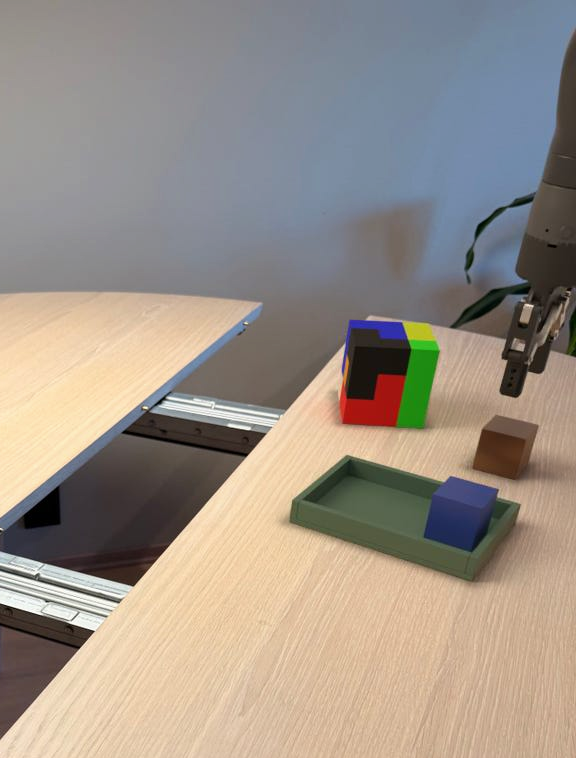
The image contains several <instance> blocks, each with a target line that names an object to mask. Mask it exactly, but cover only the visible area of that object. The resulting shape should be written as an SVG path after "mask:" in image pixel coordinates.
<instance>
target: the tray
mask: <svg viewBox="0 0 576 758" xmlns="http://www.w3.org/2000/svg"><path fill="white" fill-rule="evenodd" d="M444 482H445V481H441V480H438V479H434V478H431V477H427V476H424V475H420V474H417V473H413V472H410V471H406V470H402V469H399V468H396V467H393V466H392V467H391V466H388V465H385V464H381V463H377V462H375V461H370V460H367V459H364V458H360V457H357V456H353V455H350V454H346V455H344V456H343V457H342V458H341V459H340V460H338V461H337V462H336V463H335V464H334V465H333V466H331V467H330V468H329V469H328V470H326V471H325V472H323V474H321V476H319V477H318V478H317V479H316V480H314V481H313V482H312V483H311V484H310V485H308V486H307V487H306V488H305V489H303V490H302V491H301V492H299V494H298V495H296V496H295V497H294V498H293V499H291V503H290V504H291V505H290V512H289V519H288V522H289V523H292V524H295V525H298V526H302V527H305V528H306V529H311V530H313V531H316V532H320V533H323V534H325V535H328V536H332V537H335V538H338V539H341V540H343V541H347V542H350V543H353V544H356V545H360V546H363V547H365V548H368V549H371V550H373V551H374V550H375V551H377V552H381V553H383V554H387V555H390V556H393V557H396V558H399V559H402V560H405V561H408V562H411V563H415V564H417V565H420V566H424V567H427V568H430V569H432V570H436V571H439V572H441V573H445V574H448V575H450V576H455V577H457V578H460V579H463V580H466V581H468V582H473V580H474V579H475V578H476V576H477V575H478V574H479V572H481V570H482V569H483V568H484V566H485V565H486V563H487V562H488V561H489V560H490V558H491V557H492V556H493V554H494V553H495V552H496V551H497V550H498V548H499V547H500V545H501V544H502V543H503V542H504V540H505V539H506V538H507V537H508V535H509V534H510V532H511V531H512V530H513V529H514V528H515V526H516V524H517V520H518V517H519V514H520V510H521V508H522V507H521V506H522V504H521V503H519V502H517V501H512V500H509V499H506V498H502V497H499V496H497V499H496V502H495V506H494V509H493V513H492V517H491V520H490V524H489V527H488V531H487V533H486V534H485V535H484V537H483V538H482V539H481V540H480V542H479V543H478V544H477V545H476V547H475V548H474V549H473V550H472V552H469V551H466V550H463V549H460V548H456V547H453V546H450V545H447V544H443V543H440V542H437V541H434V540H431V539H427V538H424V537H423V535H424V531H425V527H426V522H427V518H428V514H429V510H430V505H431V501H432V497H433V494H434V493H435V492H436V491H437V489H438V488H439V487H440V486H441V485H442V484H443V483H444Z"/></svg>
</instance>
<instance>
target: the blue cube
mask: <svg viewBox="0 0 576 758" xmlns="http://www.w3.org/2000/svg"><path fill="white" fill-rule="evenodd" d="M443 482H444V483H443V484H442V485H441V486H440V487H439V488H438V489H437V491H436V492H435V493H434V494H433V497H432V501H431V505H430V510H429V514H428V518H427V522H426V527H425V531H424V535H423V537H424V538H427V539H431V540H434V541H437V542H440V543H443V544H447V545H450V546H453V547H456V548H460V549H463V550H466V551H469V552H472V550H473V549H474V548H475V547H476V545H477V544H478V543H479V542H480V540H481V539H482V538H483V537H484V535H485V534H486V533H487V531H488V527H489V524H490V520H491V517H492V513H493V509H494V506H495V502H496V499H497V497H498V494H499V491H500V489H499V488H498V487H497V488H496V487H493V486H489V485H486V484H482V483H478V482H474V481H471V480H467V479H464V478H460V477H457V476H454V475H450V476H449V477H448V478H447V479H446V480H445V481H443Z"/></svg>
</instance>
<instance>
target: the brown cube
mask: <svg viewBox="0 0 576 758" xmlns="http://www.w3.org/2000/svg"><path fill="white" fill-rule="evenodd" d="M539 427H540V424H537V423H534V422H533V423H532V422H529V421H526V420H525V421H524V420H521V419H516V418H513V417H509V416H505V415H500V414H495V415H494V416H493V417H492V418H491V419H490V420H489V421H488V422H487V423H486V424H485V425H484V426H483V427H482V428H481V431H480V435H479V437H478V442H477V445H476V450H475V455H474V457H473V458H474V459H473V462H472V466H471V469H474V470H477V471H481V472H485V473H489V474H491V475H492V474H493V475H496V476H500V477H502V478H506V479H509V480H510V479H511V480H516V479H517V478H518V477H519V475H520V474H521V473H522V472H523V471H524V470H525V468H526V467H527V466H528V465H529V463H530V458H531V455H532V453H533V449H534V444H535V441H536V438H537V435H538V431H539Z"/></svg>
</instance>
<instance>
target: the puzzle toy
mask: <svg viewBox="0 0 576 758" xmlns="http://www.w3.org/2000/svg"><path fill="white" fill-rule="evenodd" d="M440 352H441V350H440V347H439V344H438V343H437V340H436V338H435V335H434V333H433V330H432V327H431V325H430V323H427V322H409V321H387V320H368V319H349V320H348V326H347V331H346V338H345V344H344V352H343V357H342V363H341V370H340V377H339V382H338V390H337V398H338V404H339V405H338V406H339V410H340V417H341V423H342V424H344V425H345V424H346V425H359V426H360V425H362V426H376V427H377V426H378V427H393V428H394V427H395V428H397V427H398V428H409V429H410V428H411V429H424V426H425V422H426V417H427V412H428V408H429V402H430V398H431V394H432V389H433V385H434V380H435V376H436V375H435V374H436V371H437V366H438V361H439V356H440Z"/></svg>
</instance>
